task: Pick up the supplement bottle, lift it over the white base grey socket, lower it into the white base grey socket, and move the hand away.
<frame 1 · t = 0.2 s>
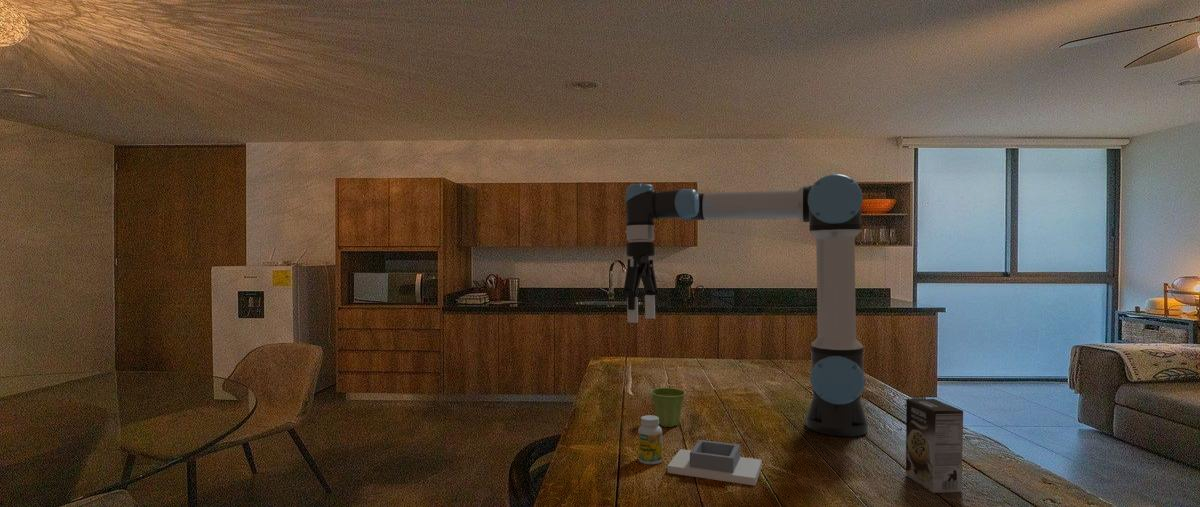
hand: (641, 320, 160), 28 cm above the table, tool pointing down, fingers open, 13 cm apart
supplement bottle: (650, 461, 132), on the table
white base grey socket: (715, 469, 126), on the table
plant pot: (667, 424, 159), on the table
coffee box: (932, 484, 119), on the table
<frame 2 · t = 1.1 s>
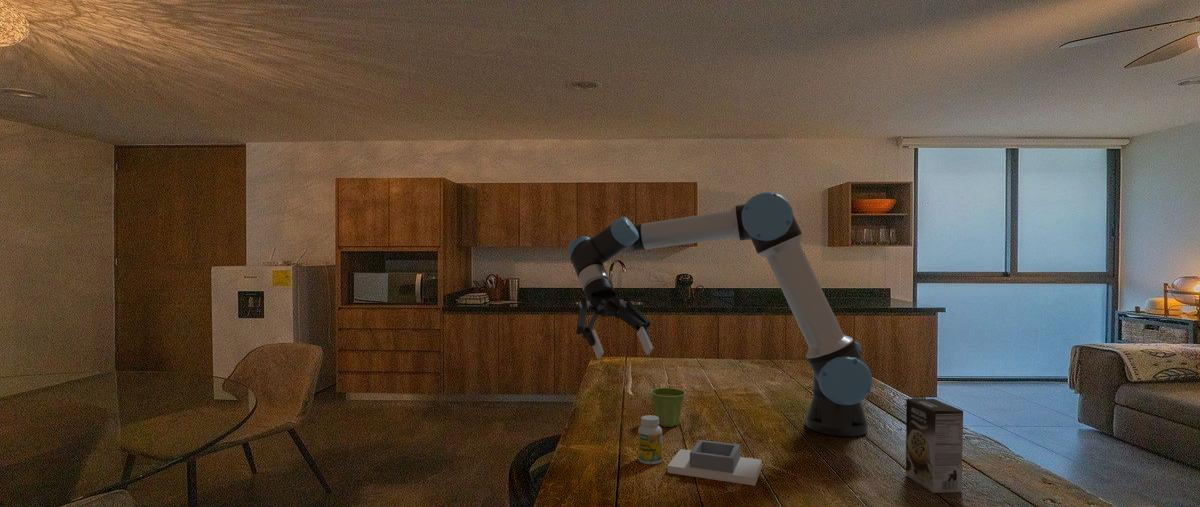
hand: (625, 353, 141), 22 cm above the table, tool tilted 45°, fingers open, 13 cm apart
nothing on the table moved.
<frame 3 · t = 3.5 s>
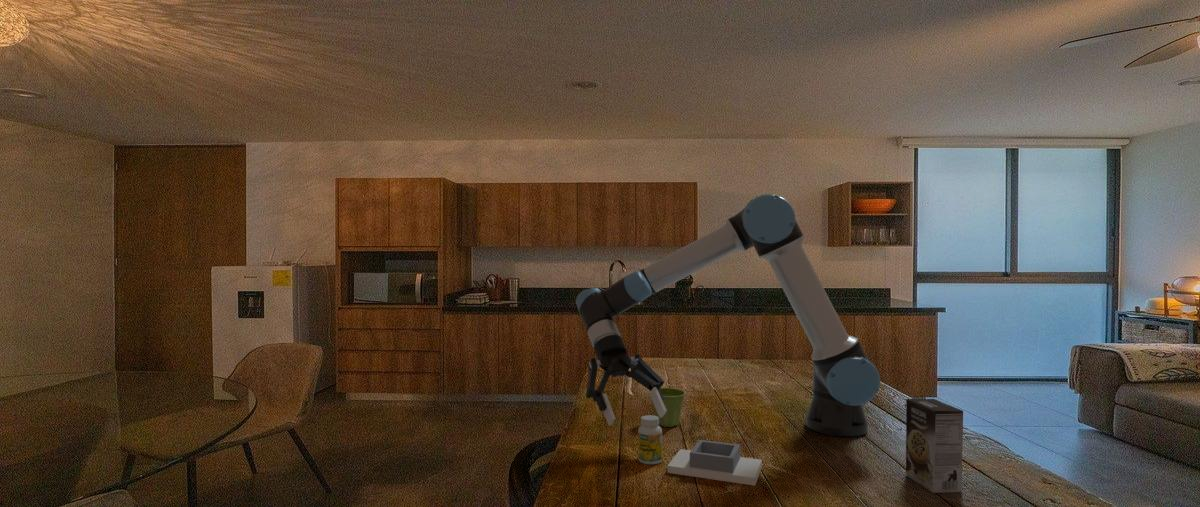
hand: (638, 418, 134), 9 cm above the table, tool tilted 45°, fingers open, 13 cm apart
nothing on the table moved.
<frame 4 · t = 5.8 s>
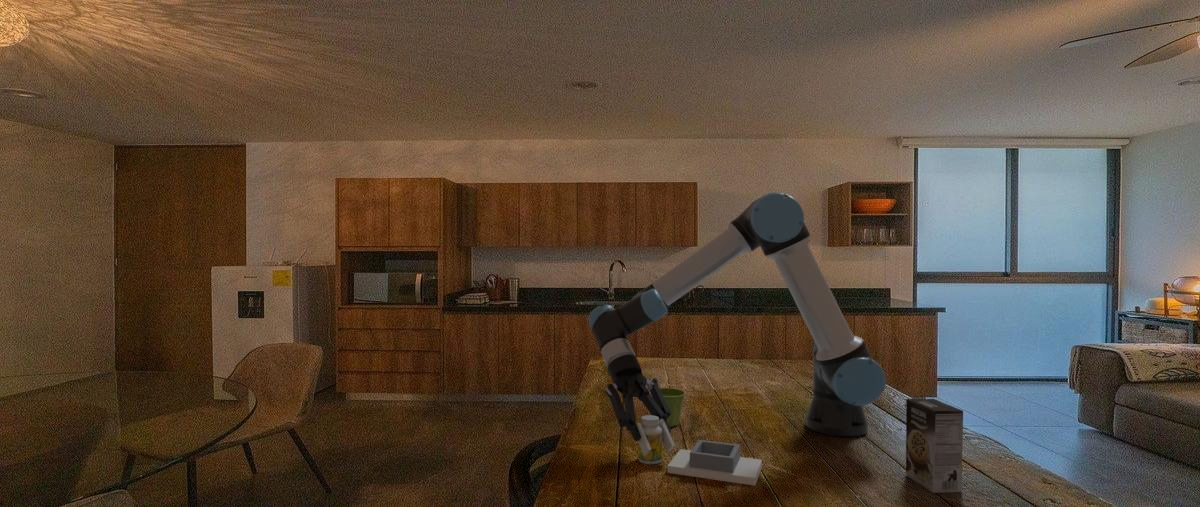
hand: (659, 450, 128), 3 cm above the table, tool tilted 45°, fingers closed on supplement bottle, 5 cm apart
supplement bottle: (650, 461, 132), on the table, touching gripper
everything else where it was.
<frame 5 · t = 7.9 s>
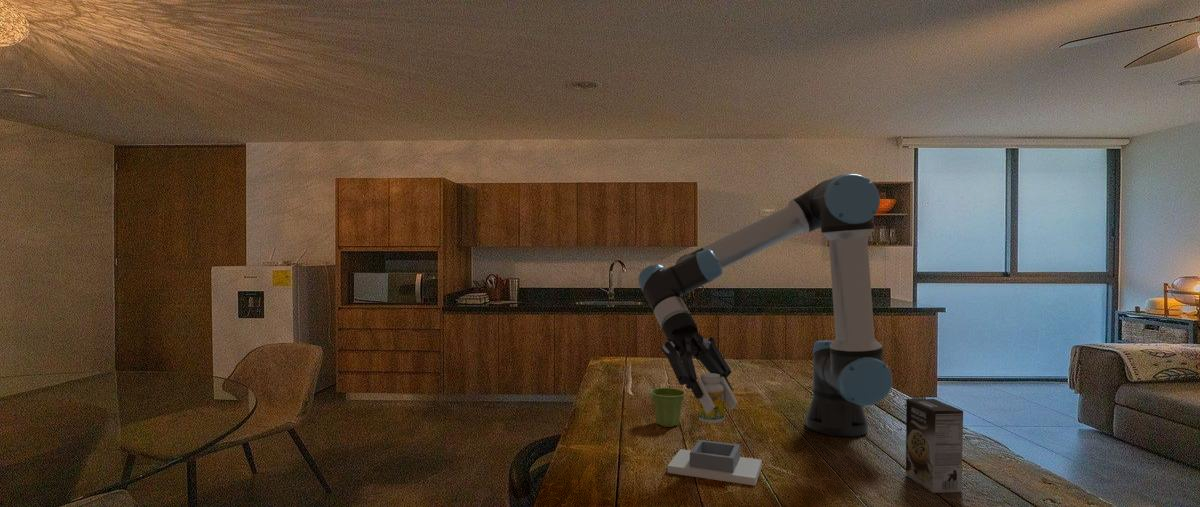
hand: (722, 408, 123), 14 cm above the table, tool tilted 45°, fingers closed on supplement bottle, 5 cm apart
supplement bottle: (711, 420, 126), point 10 cm above the table, touching gripper
everything else where it was.
when the fingers open (6 cm above the table, at t = 10.2 s): supplement bottle drops 1 cm, resting on white base grey socket.
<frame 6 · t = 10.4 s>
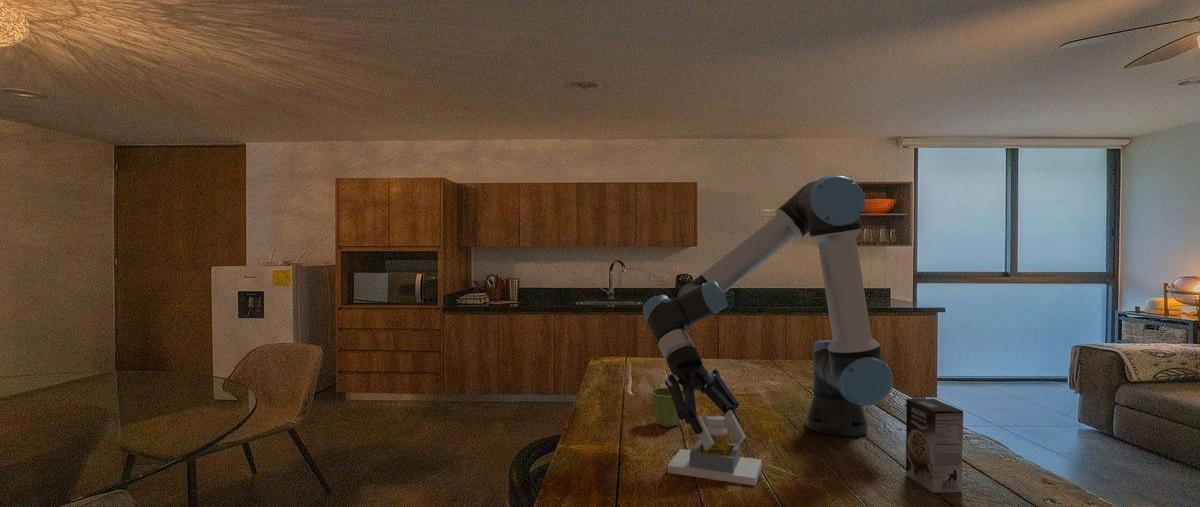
hand: (726, 443, 123), 7 cm above the table, tool tilted 45°, fingers open, 8 cm apart
supplement bottle: (715, 463, 126), point 1 cm above the table, touching white base grey socket
everything else where it was.
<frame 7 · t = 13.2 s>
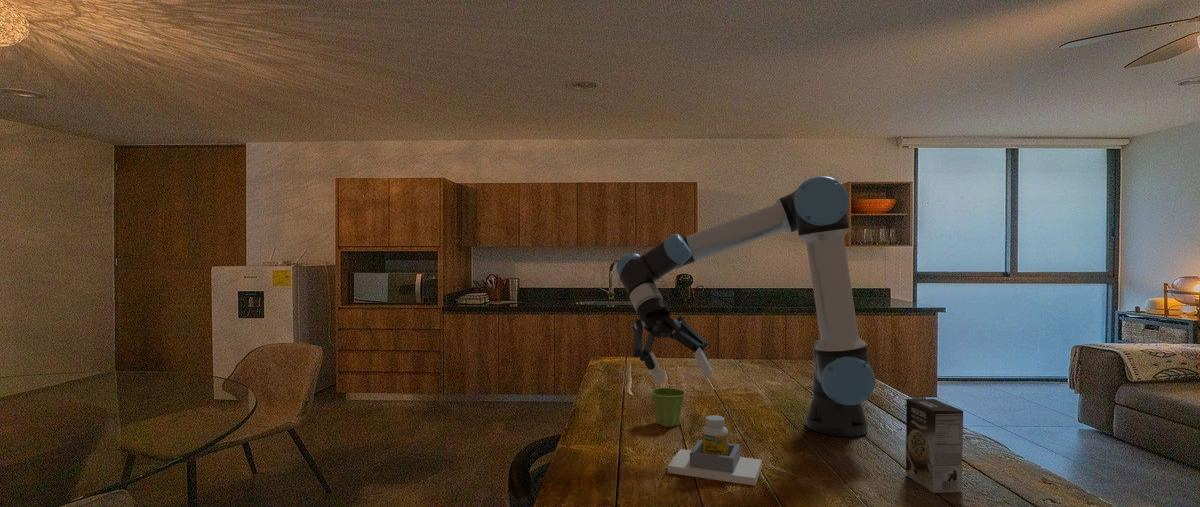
hand: (685, 377, 135), 18 cm above the table, tool tilted 45°, fingers open, 13 cm apart
nothing on the table moved.
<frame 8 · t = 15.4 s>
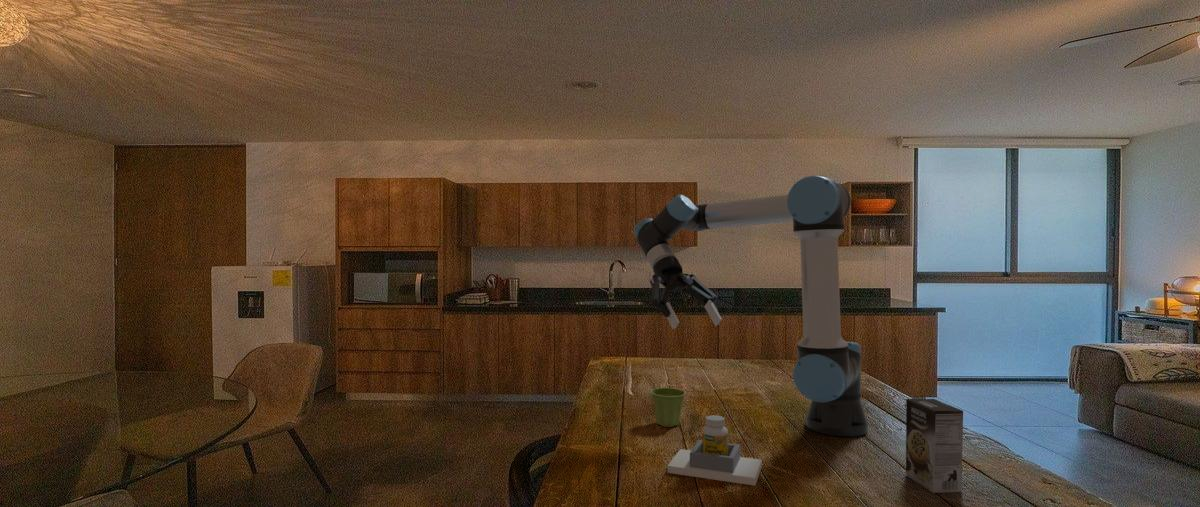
hand: (697, 324, 152), 28 cm above the table, tool tilted 45°, fingers open, 13 cm apart
nothing on the table moved.
at the end: supplement bottle 0.0 cm off-centre on the white base grey socket, point 1.3 cm above the white base grey socket's base; supplement bottle tilted 0°; the gripper is holding nothing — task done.
